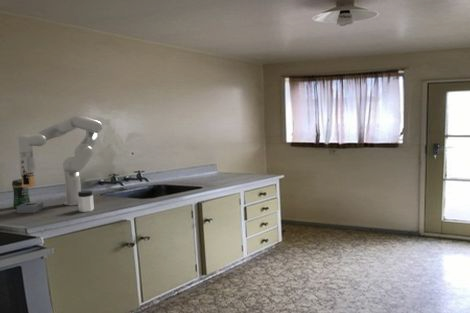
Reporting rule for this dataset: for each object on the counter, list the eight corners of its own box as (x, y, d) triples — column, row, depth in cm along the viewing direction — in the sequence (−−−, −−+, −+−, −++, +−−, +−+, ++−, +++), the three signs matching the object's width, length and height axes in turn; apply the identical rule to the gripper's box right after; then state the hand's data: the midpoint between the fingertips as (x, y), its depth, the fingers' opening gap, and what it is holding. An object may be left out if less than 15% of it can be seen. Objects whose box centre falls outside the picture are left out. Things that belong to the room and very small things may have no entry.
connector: (34, 186, 249) (33, 173, 248) (31, 187, 245) (30, 174, 244) (26, 186, 249) (25, 173, 248) (22, 187, 245) (21, 174, 244)
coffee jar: (19, 209, 254) (17, 180, 252) (11, 208, 257) (9, 180, 255) (33, 205, 262) (30, 178, 260) (24, 204, 266) (22, 177, 264)
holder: (43, 208, 254) (42, 202, 254) (34, 212, 243) (34, 206, 243) (26, 208, 254) (25, 202, 254) (16, 212, 243) (16, 206, 243)
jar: (83, 208, 250) (82, 190, 249) (95, 208, 250) (94, 190, 248) (76, 212, 241) (75, 193, 240) (89, 212, 241) (88, 192, 239)
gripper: (25, 156, 236) (27, 186, 238) (38, 153, 253) (40, 181, 255) (12, 156, 236) (15, 186, 238) (27, 153, 253) (29, 181, 255)
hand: (28, 183), depth 247 cm, fingers closed on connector, 4 cm apart
